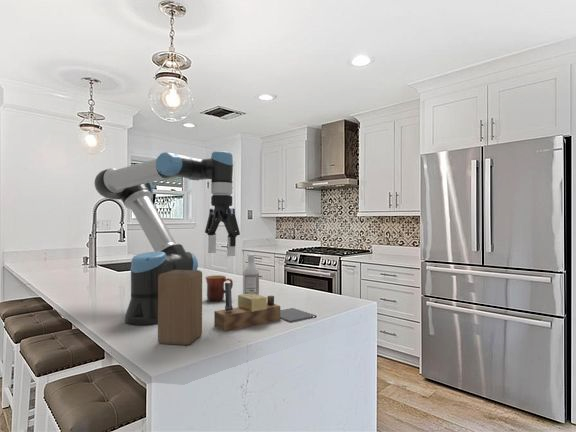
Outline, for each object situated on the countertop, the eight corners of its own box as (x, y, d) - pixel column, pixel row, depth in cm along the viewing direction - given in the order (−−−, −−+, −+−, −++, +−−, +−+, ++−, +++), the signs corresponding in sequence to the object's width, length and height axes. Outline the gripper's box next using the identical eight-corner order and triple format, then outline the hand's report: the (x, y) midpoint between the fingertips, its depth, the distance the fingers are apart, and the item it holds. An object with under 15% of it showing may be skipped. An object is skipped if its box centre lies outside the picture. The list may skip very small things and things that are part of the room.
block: (156, 344, 105) (156, 274, 105) (172, 333, 115) (172, 269, 115) (189, 346, 104) (189, 274, 104) (203, 335, 113) (203, 270, 114)
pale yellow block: (251, 311, 122) (251, 299, 122) (238, 306, 129) (238, 295, 129) (266, 309, 126) (266, 297, 126) (252, 304, 133) (252, 293, 133)
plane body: (224, 331, 117) (224, 306, 117) (214, 326, 123) (214, 302, 123) (280, 320, 131) (280, 297, 131) (269, 315, 136) (269, 294, 136)
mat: (290, 322, 128) (290, 320, 128) (267, 314, 139) (267, 312, 139) (316, 317, 135) (316, 315, 135) (292, 309, 146) (292, 307, 146)
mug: (202, 302, 158) (202, 278, 158) (208, 297, 167) (209, 275, 167) (230, 302, 157) (230, 278, 157) (234, 298, 166) (235, 275, 166)
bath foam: (261, 300, 162) (261, 254, 162) (246, 302, 159) (247, 255, 159) (254, 297, 168) (255, 253, 168) (240, 298, 165) (240, 254, 165)
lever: (227, 311, 121) (226, 283, 121) (224, 310, 123) (223, 283, 123) (233, 310, 122) (232, 282, 123) (229, 309, 124) (228, 282, 124)
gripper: (250, 194, 125) (249, 256, 125) (214, 196, 145) (213, 251, 144) (231, 193, 121) (230, 258, 121) (196, 195, 140) (195, 252, 140)
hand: (221, 254), depth 132 cm, fingers open, 13 cm apart
